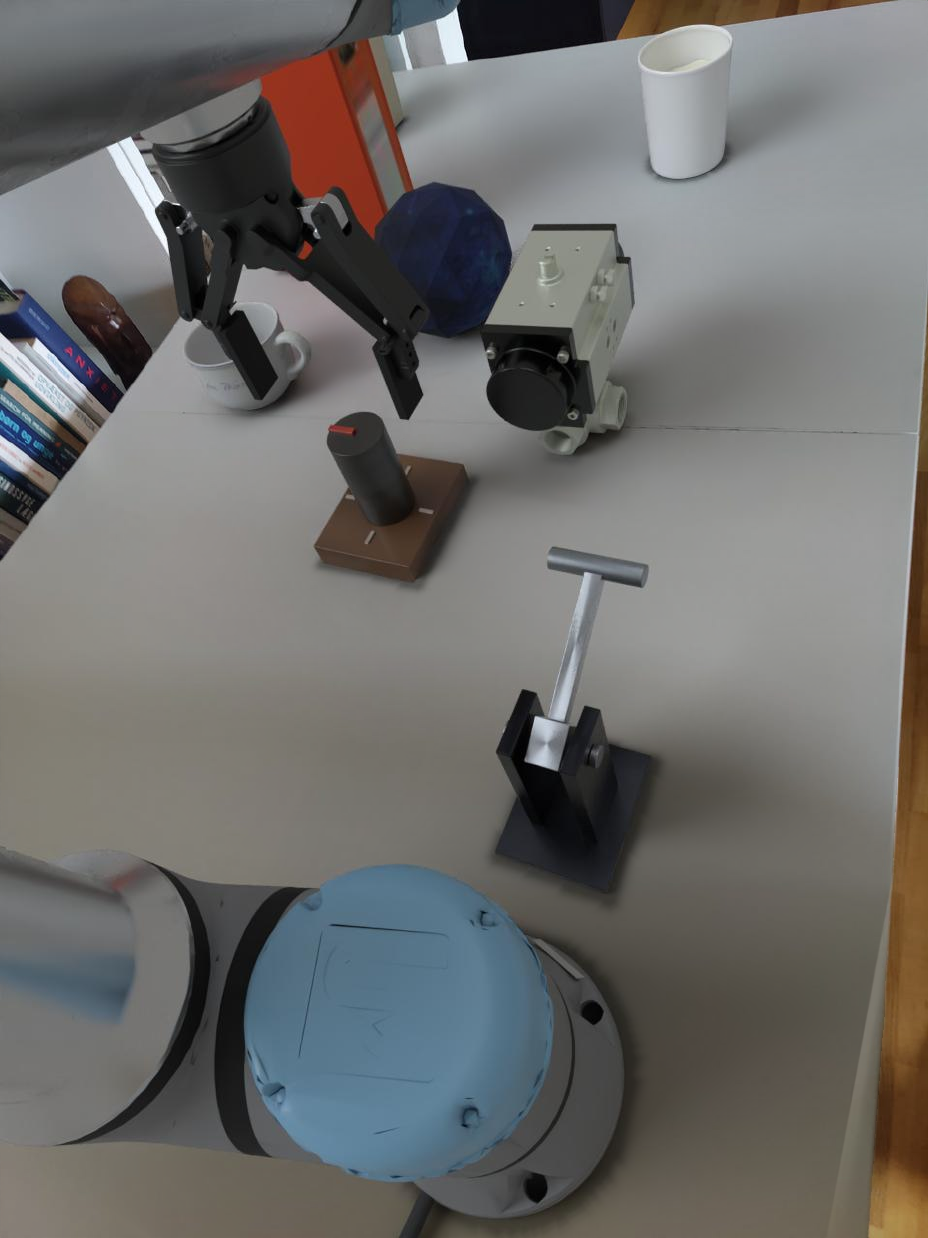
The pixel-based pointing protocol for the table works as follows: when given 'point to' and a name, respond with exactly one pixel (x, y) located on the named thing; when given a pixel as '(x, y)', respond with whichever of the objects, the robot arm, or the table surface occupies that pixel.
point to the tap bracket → (569, 799)
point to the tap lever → (576, 647)
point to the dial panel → (395, 524)
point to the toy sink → (387, 78)
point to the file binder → (340, 130)
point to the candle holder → (686, 98)
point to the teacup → (222, 372)
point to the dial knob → (371, 467)
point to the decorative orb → (447, 254)
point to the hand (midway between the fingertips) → (336, 397)
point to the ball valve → (561, 334)
